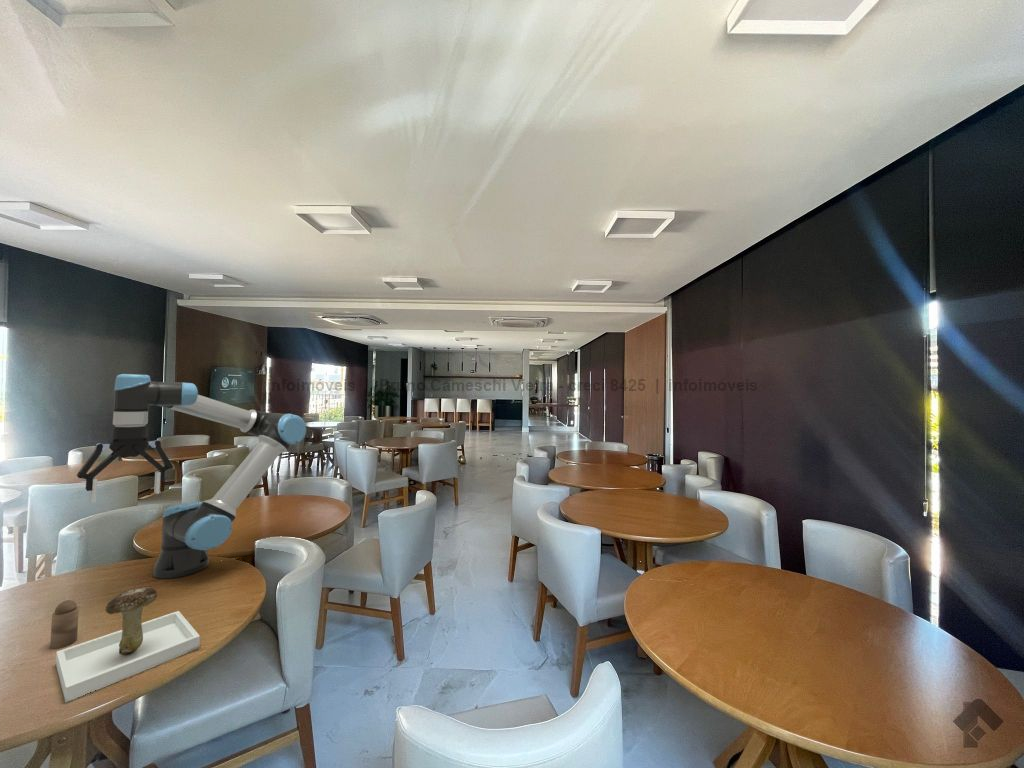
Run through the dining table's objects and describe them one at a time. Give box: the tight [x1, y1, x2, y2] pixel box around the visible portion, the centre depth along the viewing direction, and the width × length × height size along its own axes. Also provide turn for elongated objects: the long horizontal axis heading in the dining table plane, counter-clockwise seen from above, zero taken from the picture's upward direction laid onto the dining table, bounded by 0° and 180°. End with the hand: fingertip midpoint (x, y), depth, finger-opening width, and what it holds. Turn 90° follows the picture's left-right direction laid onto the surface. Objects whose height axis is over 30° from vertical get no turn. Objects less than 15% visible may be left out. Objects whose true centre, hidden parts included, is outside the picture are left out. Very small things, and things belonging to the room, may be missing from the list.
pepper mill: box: [49, 599, 80, 650], centre depth 97 cm, size 4×4×10 cm
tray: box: [55, 610, 201, 704], centre depth 93 cm, size 22×18×3 cm
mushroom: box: [105, 587, 158, 655], centre depth 93 cm, size 9×9×15 cm
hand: (126, 497), depth 116 cm, fingers open, 13 cm apart
